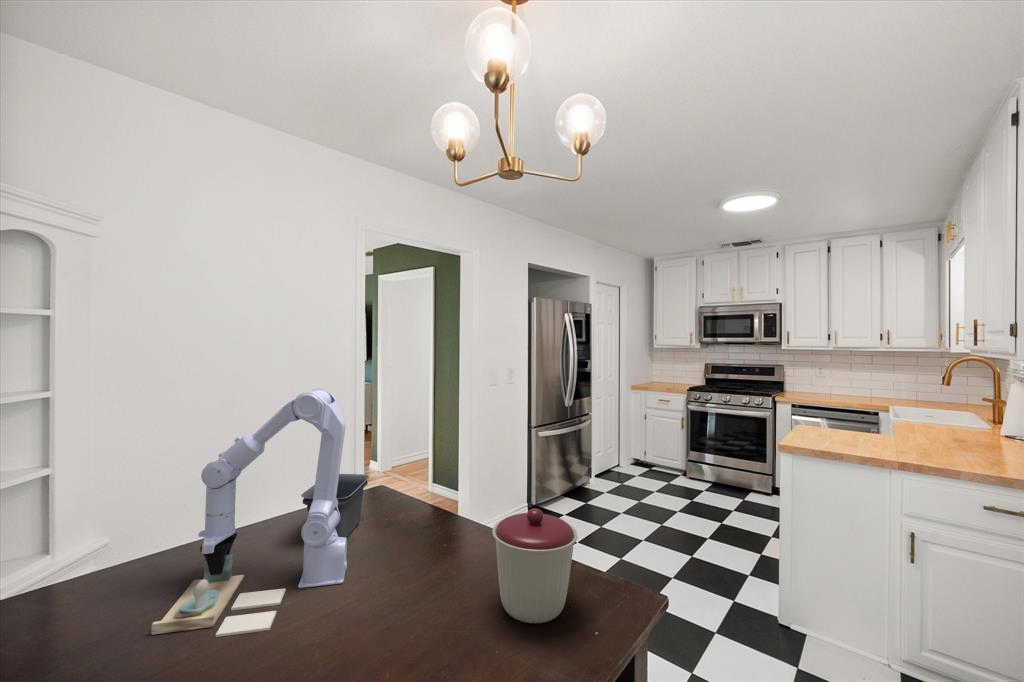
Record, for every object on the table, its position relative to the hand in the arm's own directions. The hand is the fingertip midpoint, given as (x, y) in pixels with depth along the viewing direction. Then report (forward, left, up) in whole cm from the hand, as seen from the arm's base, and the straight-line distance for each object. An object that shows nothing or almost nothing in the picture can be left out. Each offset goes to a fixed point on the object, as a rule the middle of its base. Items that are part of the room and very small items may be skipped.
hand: (218, 571), depth 101 cm
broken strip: (-11, +14, -2) cm, 18 cm away
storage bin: (-22, -22, -3) cm, 31 cm away
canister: (-67, +26, -3) cm, 72 cm away
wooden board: (0, +8, -2) cm, 9 cm away
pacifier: (0, +12, -2) cm, 12 cm away
